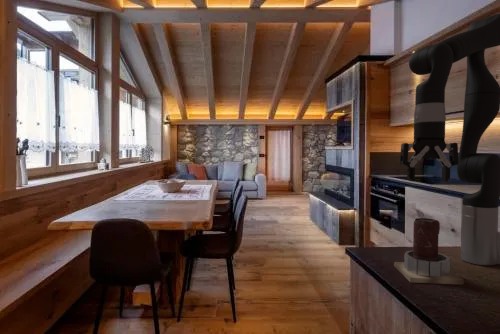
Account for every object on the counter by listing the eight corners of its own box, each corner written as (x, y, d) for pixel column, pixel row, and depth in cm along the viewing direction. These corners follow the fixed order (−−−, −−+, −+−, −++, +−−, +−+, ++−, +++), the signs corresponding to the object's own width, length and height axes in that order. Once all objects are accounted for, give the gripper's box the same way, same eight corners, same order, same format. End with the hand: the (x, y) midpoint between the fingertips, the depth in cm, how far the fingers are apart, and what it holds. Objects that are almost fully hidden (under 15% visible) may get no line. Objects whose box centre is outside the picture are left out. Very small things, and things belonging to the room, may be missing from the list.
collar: (438, 264, 98) (438, 250, 98) (457, 278, 88) (457, 262, 88) (399, 263, 100) (399, 249, 99) (413, 276, 89) (413, 261, 89)
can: (442, 274, 90) (443, 222, 90) (416, 273, 91) (417, 221, 91) (434, 267, 96) (435, 217, 96) (410, 265, 97) (411, 217, 97)
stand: (440, 267, 100) (440, 263, 99) (463, 284, 87) (463, 279, 87) (394, 265, 101) (394, 261, 101) (410, 282, 88) (410, 277, 88)
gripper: (450, 122, 95) (449, 180, 96) (397, 122, 97) (396, 180, 97) (464, 119, 88) (463, 182, 88) (406, 120, 89) (405, 182, 90)
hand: (428, 181), depth 93 cm, fingers open, 8 cm apart
